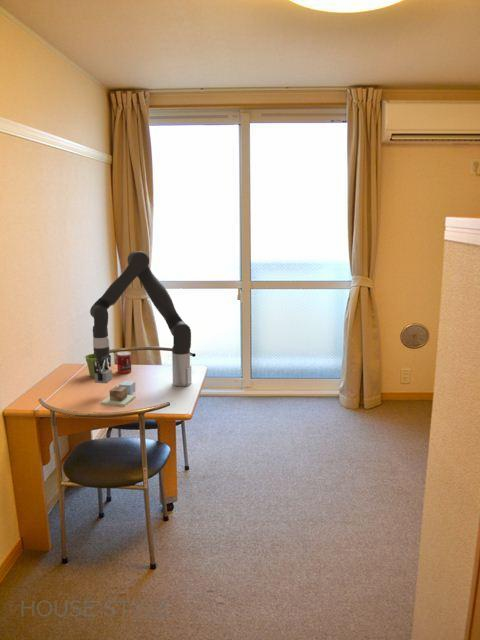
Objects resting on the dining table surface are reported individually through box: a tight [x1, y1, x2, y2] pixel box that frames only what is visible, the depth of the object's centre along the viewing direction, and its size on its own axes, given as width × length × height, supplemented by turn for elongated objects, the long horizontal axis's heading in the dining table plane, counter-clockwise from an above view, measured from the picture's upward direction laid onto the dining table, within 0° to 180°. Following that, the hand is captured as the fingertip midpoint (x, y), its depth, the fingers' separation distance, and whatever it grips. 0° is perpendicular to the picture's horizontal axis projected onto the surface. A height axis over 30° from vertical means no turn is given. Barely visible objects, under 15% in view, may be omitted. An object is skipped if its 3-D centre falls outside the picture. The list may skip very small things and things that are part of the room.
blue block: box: [118, 380, 136, 395], centre depth 257 cm, size 6×6×5 cm
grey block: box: [94, 369, 113, 384], centre depth 252 cm, size 6×6×5 cm
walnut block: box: [109, 385, 127, 401], centre depth 245 cm, size 6×6×5 cm
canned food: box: [116, 350, 132, 375], centre depth 289 cm, size 8×8×11 cm
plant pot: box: [84, 353, 101, 378], centre depth 282 cm, size 12×12×11 cm
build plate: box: [100, 394, 136, 407], centre depth 246 cm, size 12×12×1 cm
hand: (103, 378), depth 252 cm, fingers closed on grey block, 6 cm apart
